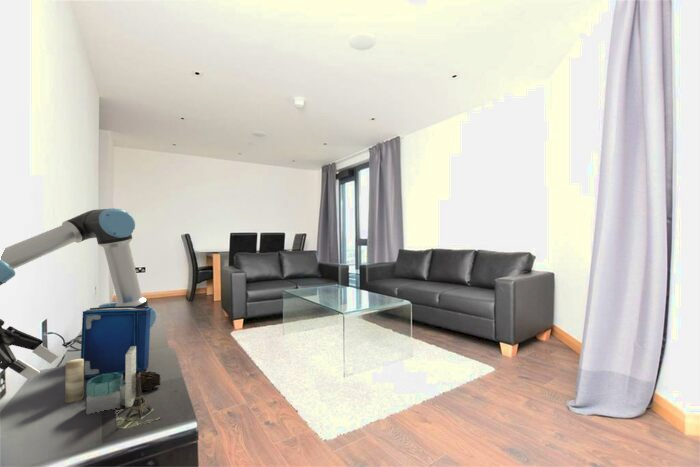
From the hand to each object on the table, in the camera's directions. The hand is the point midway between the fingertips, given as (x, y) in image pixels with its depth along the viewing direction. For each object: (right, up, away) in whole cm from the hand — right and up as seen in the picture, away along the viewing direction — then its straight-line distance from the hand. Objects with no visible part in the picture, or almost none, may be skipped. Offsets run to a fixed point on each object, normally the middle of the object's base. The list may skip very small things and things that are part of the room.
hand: (45, 367), depth 97 cm
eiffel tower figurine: (+32, -12, -6) cm, 35 cm away
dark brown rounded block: (+20, -12, +8) cm, 25 cm away
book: (+5, -12, +23) cm, 27 cm away
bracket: (+21, -11, 0) cm, 24 cm away
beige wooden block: (+6, -12, +3) cm, 13 cm away
